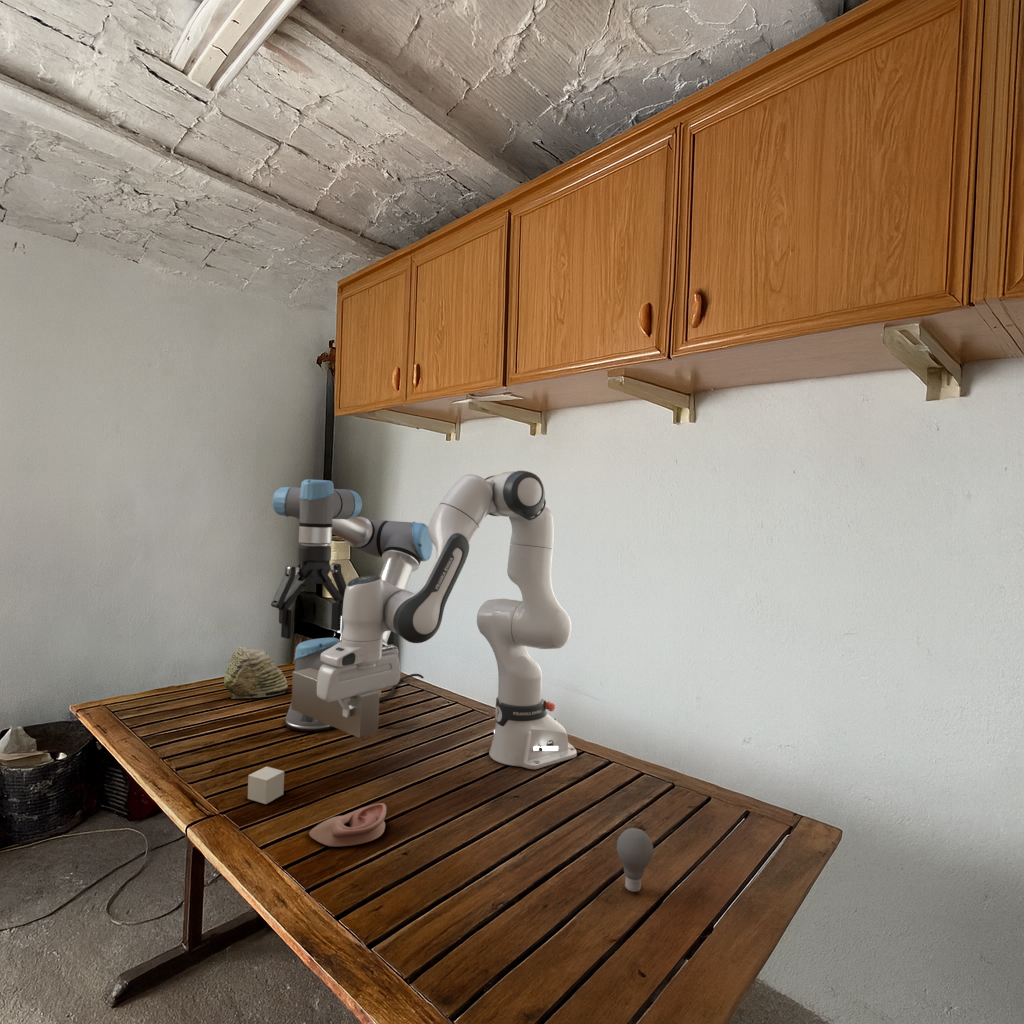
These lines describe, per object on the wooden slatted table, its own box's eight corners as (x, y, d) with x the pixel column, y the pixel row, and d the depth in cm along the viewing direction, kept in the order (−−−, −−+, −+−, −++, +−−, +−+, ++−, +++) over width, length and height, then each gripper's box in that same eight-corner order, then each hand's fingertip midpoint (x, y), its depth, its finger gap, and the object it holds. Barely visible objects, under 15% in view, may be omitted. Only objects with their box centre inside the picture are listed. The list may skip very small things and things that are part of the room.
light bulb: (610, 878, 109) (613, 821, 108) (645, 878, 109) (647, 821, 109) (619, 901, 103) (622, 840, 103) (655, 900, 103) (658, 839, 103)
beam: (309, 704, 155) (310, 667, 155) (378, 732, 139) (379, 691, 139) (291, 708, 151) (292, 671, 151) (359, 738, 135) (361, 696, 135)
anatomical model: (301, 820, 116) (331, 792, 127) (300, 842, 116) (330, 812, 127) (368, 831, 113) (393, 801, 124) (368, 853, 113) (392, 821, 124)
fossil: (219, 695, 195) (221, 647, 195) (279, 686, 207) (281, 640, 207) (229, 703, 188) (231, 653, 188) (290, 693, 201) (292, 646, 200)
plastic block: (265, 789, 136) (266, 766, 136) (283, 794, 134) (284, 771, 134) (247, 798, 131) (248, 775, 131) (265, 804, 129) (266, 780, 129)
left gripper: (348, 542, 162) (345, 624, 163) (257, 544, 143) (253, 638, 143) (367, 544, 158) (363, 629, 158) (275, 547, 138) (271, 644, 139)
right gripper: (389, 640, 149) (386, 699, 149) (313, 655, 133) (311, 720, 133) (407, 645, 145) (405, 705, 145) (331, 660, 129) (329, 728, 129)
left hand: (311, 633), depth 151 cm, fingers open, 13 cm apart
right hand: (359, 712), depth 139 cm, fingers closed on beam, 5 cm apart
